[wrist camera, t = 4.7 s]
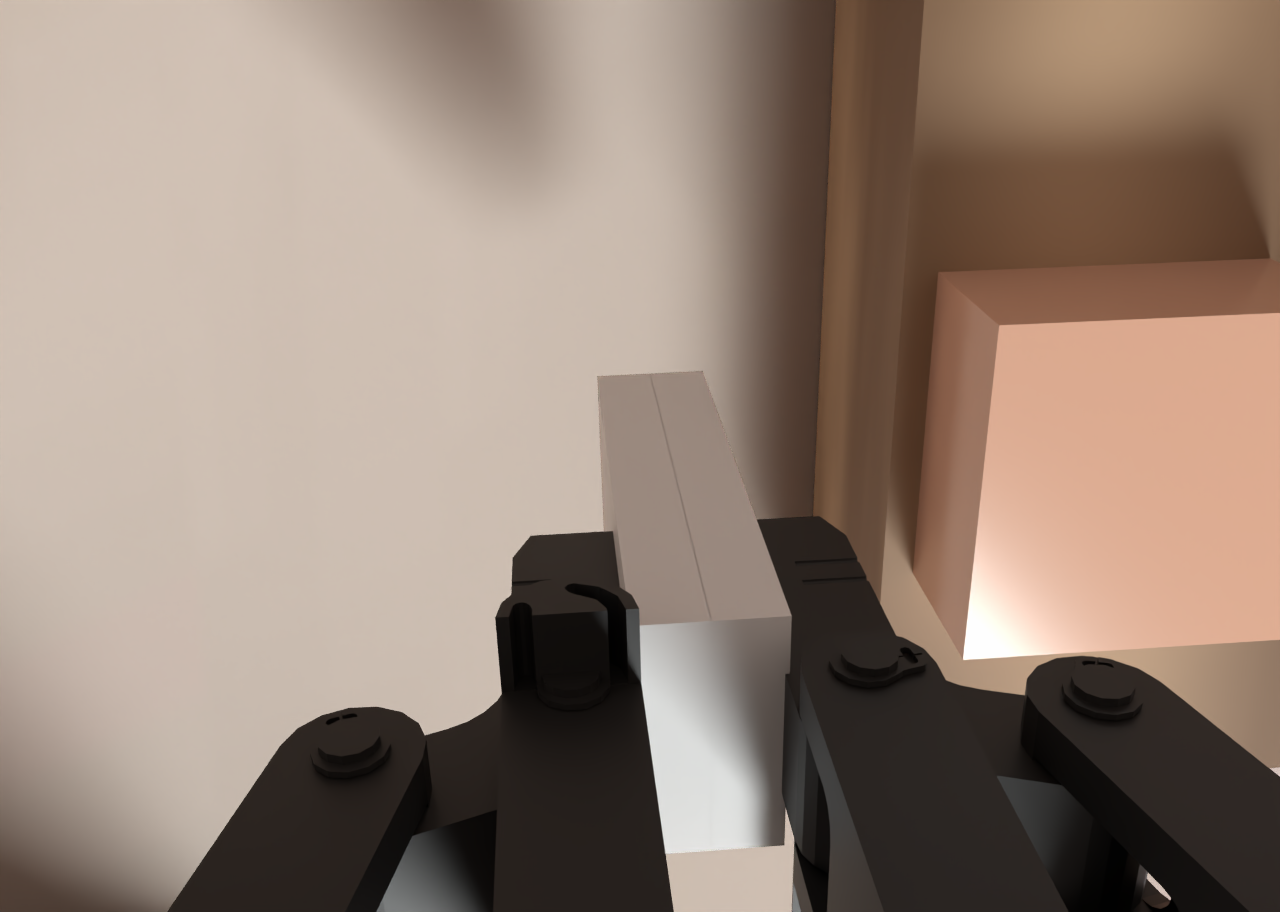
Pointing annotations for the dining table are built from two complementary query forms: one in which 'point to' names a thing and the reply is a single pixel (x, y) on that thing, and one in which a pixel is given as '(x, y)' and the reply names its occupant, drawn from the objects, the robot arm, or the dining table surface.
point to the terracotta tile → (1103, 458)
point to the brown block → (1027, 242)
